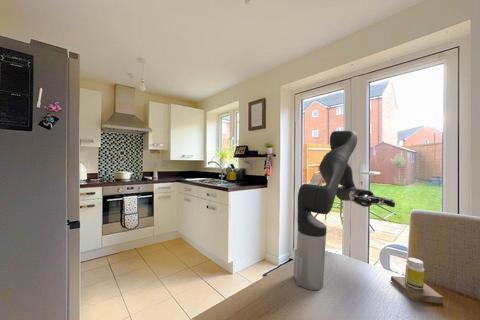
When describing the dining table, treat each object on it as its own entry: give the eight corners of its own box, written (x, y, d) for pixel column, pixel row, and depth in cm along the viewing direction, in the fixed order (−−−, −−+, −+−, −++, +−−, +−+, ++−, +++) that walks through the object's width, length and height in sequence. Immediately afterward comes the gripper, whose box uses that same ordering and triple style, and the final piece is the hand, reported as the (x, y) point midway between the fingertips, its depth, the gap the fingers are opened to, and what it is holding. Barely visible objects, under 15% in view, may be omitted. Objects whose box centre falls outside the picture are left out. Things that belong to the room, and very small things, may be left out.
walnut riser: (412, 300, 65) (412, 294, 65) (390, 281, 75) (391, 276, 75) (442, 303, 65) (443, 297, 65) (417, 283, 75) (417, 278, 75)
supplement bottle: (426, 291, 67) (428, 265, 67) (409, 288, 68) (411, 262, 68) (417, 282, 72) (419, 258, 72) (401, 280, 73) (403, 256, 73)
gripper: (345, 187, 98) (363, 192, 82) (377, 189, 97) (402, 195, 81) (344, 203, 98) (362, 211, 82) (376, 206, 97) (401, 215, 81)
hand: (382, 203), depth 81 cm, fingers open, 8 cm apart
